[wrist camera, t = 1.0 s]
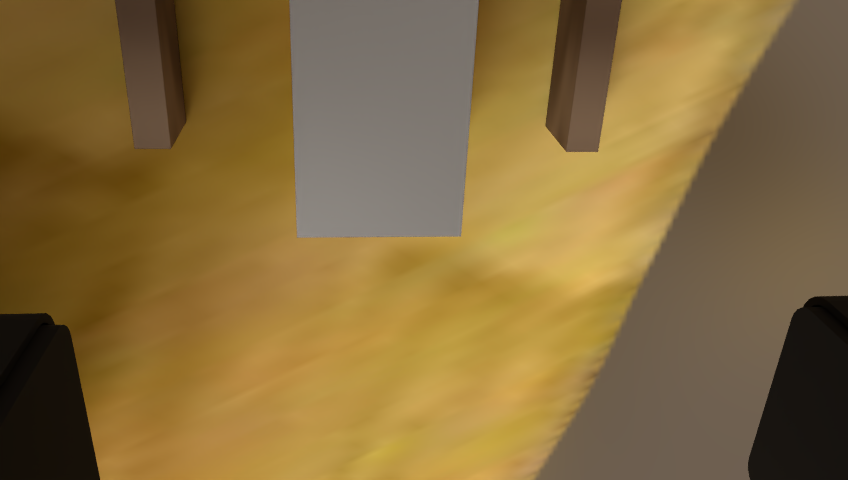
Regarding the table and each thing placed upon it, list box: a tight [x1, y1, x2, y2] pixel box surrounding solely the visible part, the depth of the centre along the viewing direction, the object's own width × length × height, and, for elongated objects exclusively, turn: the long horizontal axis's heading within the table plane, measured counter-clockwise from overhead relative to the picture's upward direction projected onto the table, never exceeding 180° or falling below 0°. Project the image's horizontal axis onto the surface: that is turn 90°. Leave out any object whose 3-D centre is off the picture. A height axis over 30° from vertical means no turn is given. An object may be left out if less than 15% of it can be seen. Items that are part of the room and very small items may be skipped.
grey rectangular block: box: [290, 0, 479, 237], centre depth 25 cm, size 8×5×7 cm, turn 177°
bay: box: [115, 0, 622, 152], centre depth 25 cm, size 9×16×4 cm, turn 87°
